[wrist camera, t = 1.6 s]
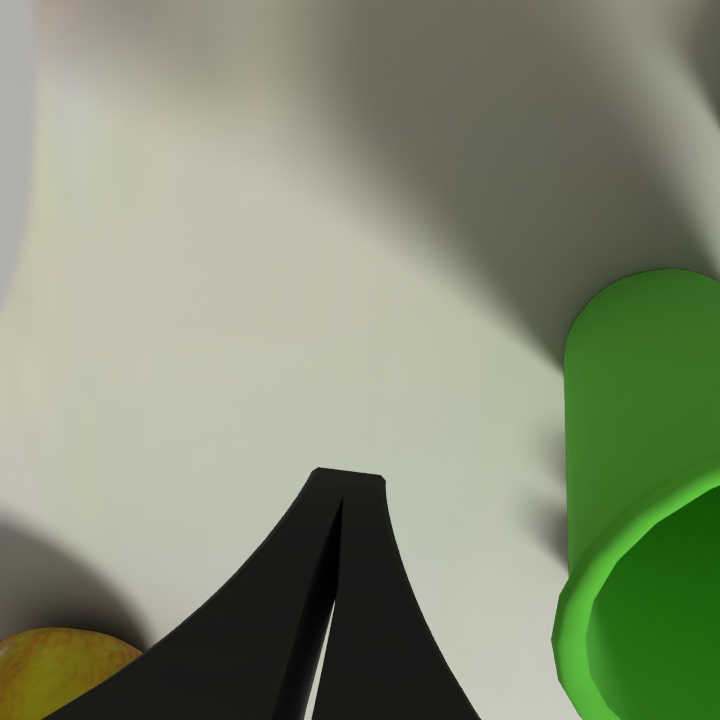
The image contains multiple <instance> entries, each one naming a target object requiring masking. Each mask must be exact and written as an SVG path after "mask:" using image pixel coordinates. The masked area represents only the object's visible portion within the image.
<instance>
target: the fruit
mask: <svg viewBox="0 0 720 720" xmlns="http://www.w3.org/2000/svg"><path fill="white" fill-rule="evenodd" d="M141 654H143V653H142V652H141V651H140V650H138V649H136V648H134V647H132V646H131V645H129V644H127V643H125V642H123V641H122V640H119V639H117V638H115V637H112V636H109V635H106V634H102V633H99V632H95V631H88V630H80V629H73V628H59V627H47V628H39V629H31V630H28V631H25V632H21V633H18V634H15V635H12V636H9V637H7V638H5V639H3V640H1V641H0V720H41V719H43V718H44V717H46V716H48V715H49V714H51V713H53V712H54V711H56V710H58V709H59V708H61V707H63V706H64V705H66V704H67V703H69V702H71V701H72V700H74V699H76V698H77V697H79V696H80V695H82V694H84V693H85V692H87V691H89V690H90V689H92V688H94V687H95V686H97V685H98V684H100V683H101V682H103V681H104V680H106V679H107V678H109V677H110V676H112V675H113V674H115V673H116V672H118V671H119V670H120V669H122V668H123V667H125V666H126V665H127V664H129V663H130V662H131V661H133V660H134V659H136V658H137V657H138V656H140V655H141Z"/></svg>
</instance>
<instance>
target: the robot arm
mask: <svg viewBox="0 0 720 720" xmlns="http://www.w3.org/2000/svg"><path fill="white" fill-rule="evenodd" d="M334 601H335V606H334V612H333V617H332V622H331V627H330V632H329V637H328V642H327V647H326V652H325V657H324V662H323V667H322V672H321V677H320V682H319V686H318V691H317V696H316V701H315V705H314V710H313V715H312V720H481V719H480V717H479V716H478V714H477V713H476V711H475V710H474V708H473V706H472V705H471V703H470V701H469V700H468V698H467V696H466V695H465V693H464V691H463V690H462V688H461V686H460V685H459V683H458V681H457V680H456V678H455V676H454V675H453V673H452V671H451V670H450V668H449V666H448V665H447V663H446V661H445V659H444V657H443V655H442V653H441V651H440V649H439V647H438V645H437V644H436V642H435V640H434V638H433V636H432V633H431V631H430V629H429V627H428V625H427V623H426V621H425V619H424V616H423V614H422V612H421V610H420V607H419V605H418V603H417V600H416V598H415V595H414V593H413V590H412V588H411V585H410V582H409V580H408V577H407V574H406V571H405V569H404V566H403V563H402V560H401V556H400V553H399V550H398V547H397V543H396V540H395V537H394V533H393V529H392V525H391V520H390V516H389V511H388V505H387V498H386V480H385V479H384V478H383V477H382V476H381V475H376V474H368V473H360V472H352V471H344V470H336V469H328V468H320V467H318V468H316V469H315V470H313V471H312V472H311V474H310V476H309V478H308V480H307V481H306V483H305V485H304V486H303V488H302V490H301V491H300V493H299V494H298V496H297V497H296V499H295V500H294V502H293V503H292V505H291V506H290V507H289V509H288V510H287V512H286V513H285V514H284V516H283V517H282V518H281V520H280V521H279V522H278V523H277V525H276V526H275V527H274V529H273V530H272V531H271V532H270V534H269V535H268V536H267V538H266V539H265V540H264V541H263V542H262V544H261V545H260V546H259V547H258V548H257V549H256V550H255V551H254V553H253V554H252V555H251V556H250V557H249V558H248V559H247V560H246V562H245V563H244V564H243V565H242V566H241V567H240V568H239V569H238V570H237V572H236V573H235V574H234V575H233V576H232V577H231V578H230V579H229V580H228V581H227V582H226V583H225V584H224V585H223V586H222V587H221V588H220V589H219V590H218V591H217V592H216V593H215V594H214V595H212V596H211V597H210V598H209V599H208V600H207V601H206V602H205V603H204V604H203V605H202V606H201V607H200V608H198V609H197V610H196V611H195V612H194V613H193V614H191V615H190V616H189V617H188V618H187V619H186V620H184V621H183V622H182V623H181V624H180V625H179V626H177V627H176V628H175V629H174V630H173V631H171V632H170V633H169V634H168V635H166V636H165V637H164V638H163V639H161V640H160V641H159V642H158V643H156V644H155V645H154V646H152V647H151V648H149V649H148V650H147V651H145V652H144V653H143V654H141V655H140V656H138V657H137V658H136V659H134V660H133V661H131V662H130V663H129V664H127V665H126V666H125V667H123V668H122V669H120V670H119V671H118V672H116V673H115V674H113V675H112V676H110V677H109V678H107V679H106V680H104V681H103V682H101V683H100V684H98V685H97V686H95V687H94V688H92V689H90V690H89V691H87V692H85V693H84V694H82V695H80V696H79V697H77V698H76V699H74V700H72V701H71V702H69V703H67V704H66V705H64V706H63V707H61V708H59V709H58V710H56V711H54V712H53V713H51V714H49V715H48V716H46V717H44V718H43V719H41V720H304V716H305V712H306V707H307V703H308V699H309V696H310V692H311V688H312V684H313V681H314V677H315V673H316V669H317V665H318V662H319V658H320V654H321V650H322V646H323V643H324V639H325V635H326V631H327V627H328V624H329V620H330V616H331V612H332V608H333V604H334Z"/></svg>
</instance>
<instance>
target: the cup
mask: <svg viewBox="0 0 720 720" xmlns="http://www.w3.org/2000/svg"><path fill="white" fill-rule="evenodd" d="M564 394H565V437H566V480H567V524H568V567H569V579H568V581H567V583H566V584H565V586H564V588H563V590H562V592H561V593H560V595H559V600H558V605H557V611H556V616H555V621H554V627H553V632H552V637H551V642H552V647H553V653H554V658H555V664H556V669H557V675H558V680H559V682H560V683H561V685H562V687H563V689H564V690H565V692H566V694H567V695H568V697H569V699H570V700H571V702H572V704H573V706H574V707H575V709H576V711H577V712H578V714H579V716H580V717H581V718H582V719H583V720H720V282H718V281H716V280H714V279H712V278H709V277H707V276H704V275H702V274H699V273H697V272H693V271H685V270H678V269H664V270H652V271H646V272H642V273H639V274H636V275H632V276H629V277H625V278H623V279H621V280H619V281H617V282H616V283H614V284H612V285H610V286H608V287H606V288H605V289H604V290H602V291H601V292H600V293H599V294H598V295H597V296H595V297H594V298H593V299H592V300H591V301H590V302H589V303H588V304H587V305H586V306H585V308H584V309H583V310H582V311H581V313H580V314H579V315H578V317H577V318H576V319H575V321H574V323H573V325H572V328H571V330H570V332H569V334H568V337H567V339H566V345H565V352H564Z"/></svg>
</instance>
